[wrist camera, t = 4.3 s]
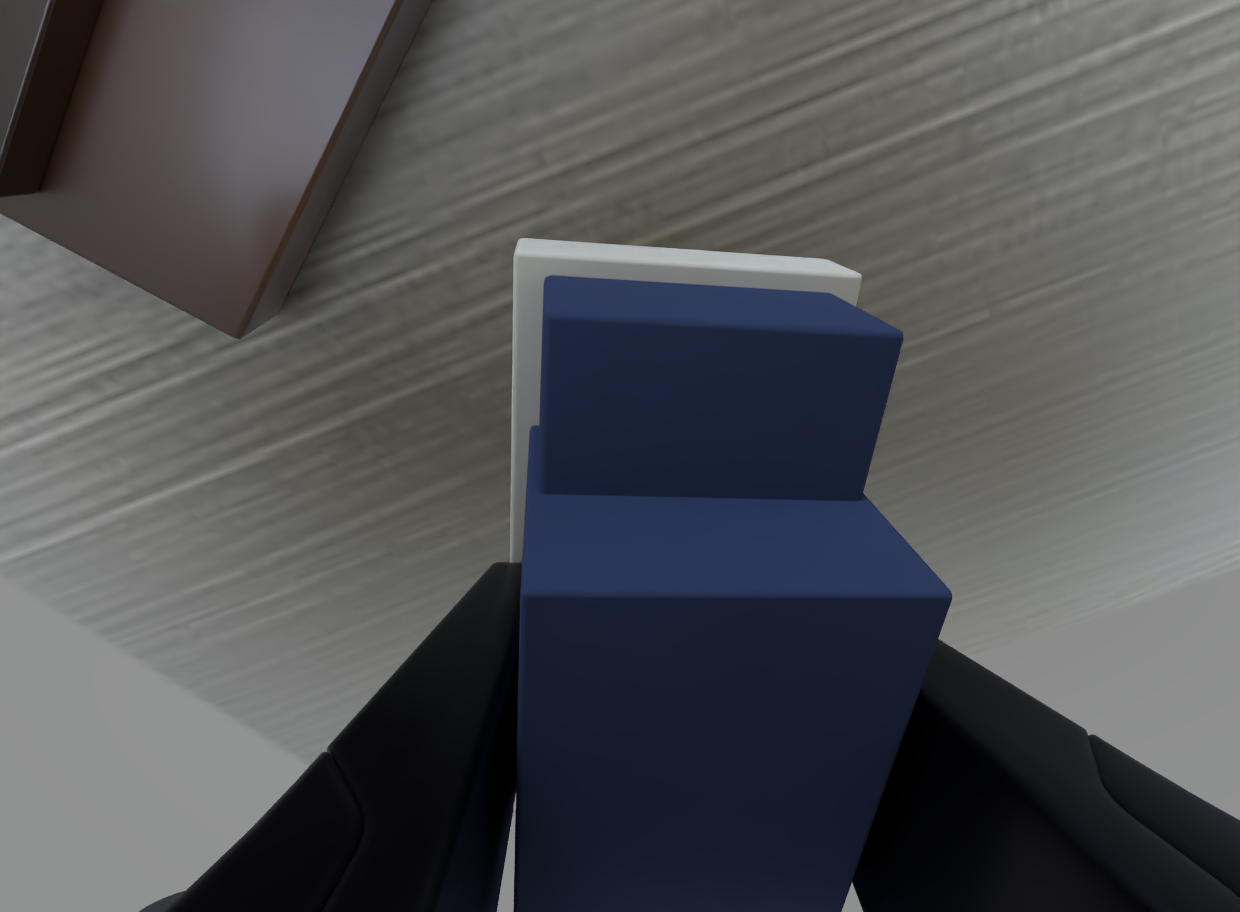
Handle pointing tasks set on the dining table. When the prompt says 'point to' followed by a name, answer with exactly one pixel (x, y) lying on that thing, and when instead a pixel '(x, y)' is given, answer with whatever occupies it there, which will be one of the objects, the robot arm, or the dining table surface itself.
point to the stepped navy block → (703, 580)
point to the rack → (191, 135)
